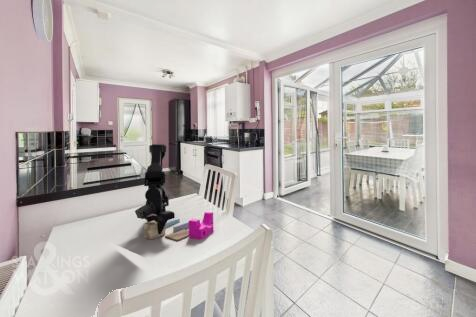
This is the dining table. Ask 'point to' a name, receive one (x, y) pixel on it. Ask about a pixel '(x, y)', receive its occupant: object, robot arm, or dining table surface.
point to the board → (178, 235)
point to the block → (152, 230)
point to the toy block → (201, 226)
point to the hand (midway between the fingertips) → (156, 232)
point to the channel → (177, 227)
